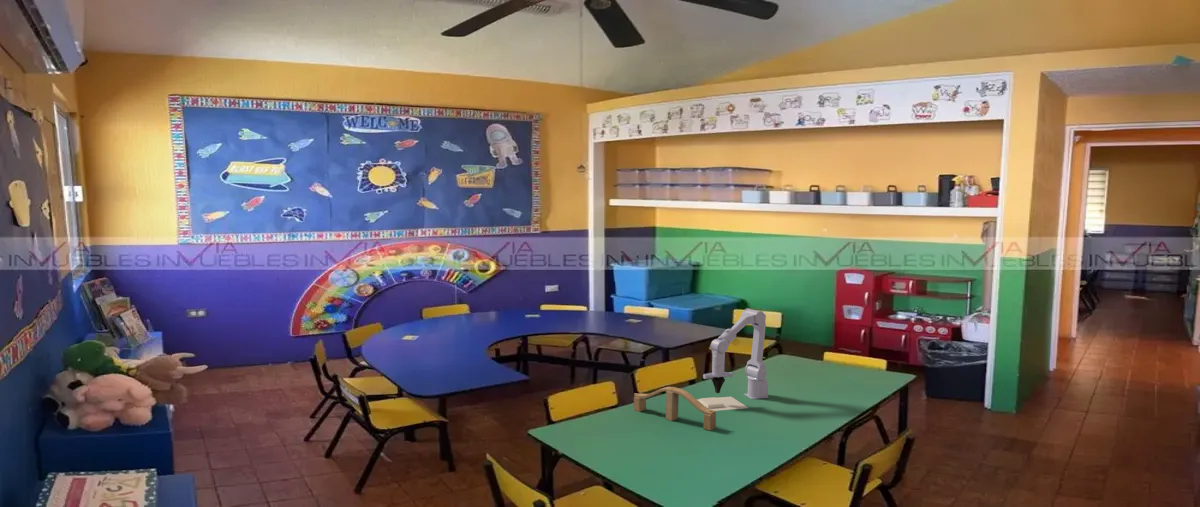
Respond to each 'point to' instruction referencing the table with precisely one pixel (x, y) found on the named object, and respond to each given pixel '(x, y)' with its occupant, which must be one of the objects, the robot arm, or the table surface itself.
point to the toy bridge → (676, 405)
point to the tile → (711, 402)
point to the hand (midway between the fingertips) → (717, 392)
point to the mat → (728, 404)
